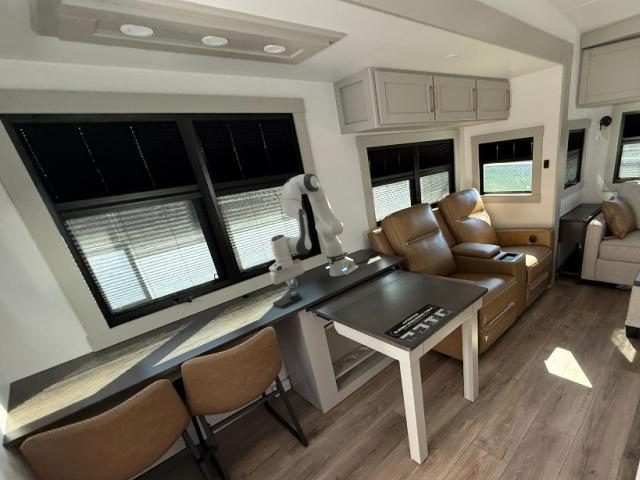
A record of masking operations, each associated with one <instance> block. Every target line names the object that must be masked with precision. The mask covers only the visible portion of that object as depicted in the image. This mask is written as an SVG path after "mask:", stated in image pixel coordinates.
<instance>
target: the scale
mask: <svg viewBox="0 0 640 480" xmlns="http://www.w3.org/2000/svg"><path fill="white" fill-rule="evenodd" d="M296 293H297V295H295V296H291V293H289V294H288V295H286V296H284V297H281V298H279V299H277V300H275V301H273V302H272V305H273V307H276V308H280V309H283V310H284V309H286V308H287V307H289V306H291V305H294V304H296V303H298V302H300V301H301V300H302V296H301V293H300V292H298V291H296Z"/></svg>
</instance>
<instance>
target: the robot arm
mask: <svg viewBox="0 0 640 480" xmlns="http://www.w3.org/2000/svg"><path fill="white" fill-rule="evenodd" d="M281 191H282V192H281V210H282V212H283V213H284V214H285V215H286V216H288V217H290V218H292V219H295V220H296V222H297V227H298V236H286V235H284V234H277V235H274V236H272V238H271V239H270V245H271V249H272V250H271V251H272V253H273V255H274V258H275V259H274V260H275V262H274V263H273V264H272V265H270V266H269V268H268V270H269V271H270V272H269V277H270V281H271V283H272V284H273V285H276V286H277V285H279V284H282V283H284V282H285V283H286V284H287V287H289V288H290V286H292V285H294V283H293V282H294V277H296V278H297V277H298V276H300V275H303V274H304V273H305V269H304V266H303V264H302V260H301V259H299V258H296V259H294V260H293V257H292V255H307V254H309V253H310V252H311V250H312V248H313V245H312V244H313V243H312V241H311V237H310V230H309V221H308V215H307V213H306V210H304V208H303V206H302V195H307V197H308V200H309V203H310V205H311V208H312V210H313V213H314V215H315V216H316V217H317V218H318V220H317V221H315V225H314V227H315V230H316V231H317V233H318V234H319V236H320V238H321V240H322V242H323V245H324V248H325V252H326V259H327V263H328V266H326V267H325V269H329V276H330V277H340V276H347V275H350V274H351V273H353V272H355V271H357V270H358V269H359V268H360V266H359V265H360V264H362V263H364V262H366V261H367V260H368V259H369V258H370V257H371V256H372V255H375V254H377V253H378V252H376V251H375V252H372V253H370V254H369V255H367V257H366V258H365V259H363V260H362V261H360V262H357V263H356V260H355V259H354V258H351V257H348V255H349V253H348V251H343V247H342V246H343V245H342V242H341V240H340V239H339V238H338V236H340V235H342V233H343V232H344V224H343V223H342V221H340V220H339V218H338V217H337V216H336V213H335V212H334V211H333V210H332V207H331V205H330V202H329V200H328V197H327V194H326V193H325V190H324V189H323V187H322V184H320V180H319V178H318V176H316V175H315V174H314V173H309V172H308V173H303V174H298V175H295V176H292V177H290V178H288V179H287V180H286V182H285V183H284V184H283V186H282V190H281ZM289 279H291V282H290V283H289V282H288V281H289Z"/></svg>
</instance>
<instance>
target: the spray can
mask: <svg viewBox="0 0 640 480" xmlns="http://www.w3.org/2000/svg"><path fill="white" fill-rule="evenodd" d="M288 282H289V283H290V282H291V279H289V281H288ZM293 283H294V285H292V286H290V287H289V288H290V289H294V288H295V289H296V288H297V287H298V285H299V284H298V281H297V276H296V277H294V282H293Z"/></svg>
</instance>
